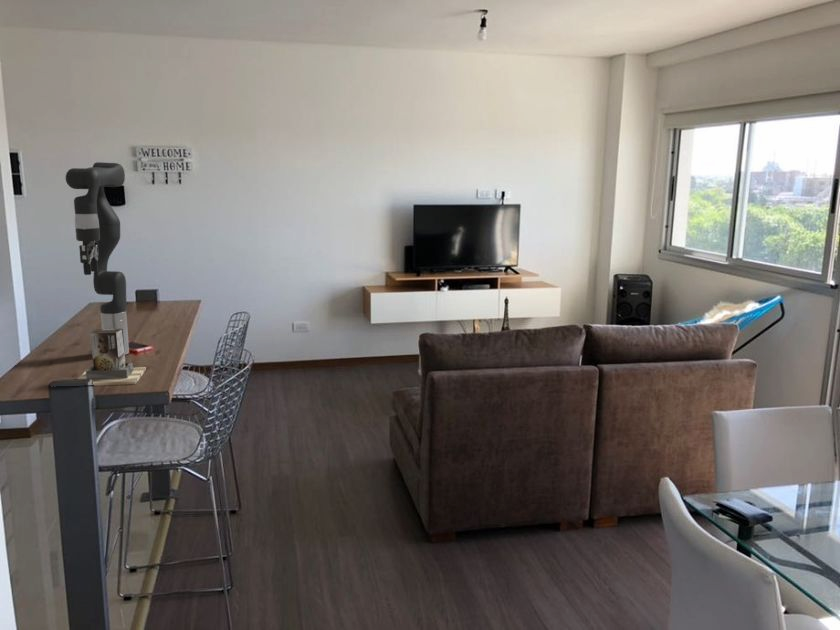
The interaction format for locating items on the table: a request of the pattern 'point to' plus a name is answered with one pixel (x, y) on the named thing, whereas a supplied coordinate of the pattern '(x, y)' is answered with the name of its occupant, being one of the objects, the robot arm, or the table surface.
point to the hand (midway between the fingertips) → (91, 273)
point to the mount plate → (114, 375)
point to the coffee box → (108, 349)
